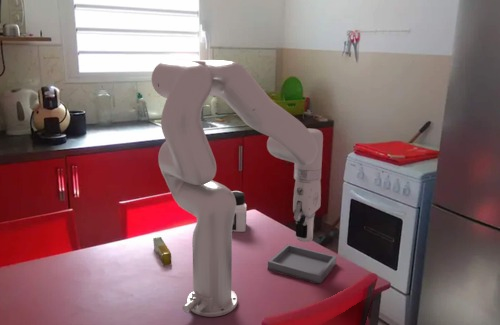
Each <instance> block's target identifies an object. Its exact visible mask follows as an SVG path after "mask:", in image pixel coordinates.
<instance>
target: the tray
mask: <svg viewBox="0 0 500 325" xmlns="http://www.w3.org/2000/svg"><path fill="white" fill-rule="evenodd" d="M337 258H338V257H337V256H336V255H332V254H328V253H324V252H321V251H317V250H316V251H315V250H312V249H309V248H304V247H301V246H297V245H292V244H286V245H284V247H283V248H282V249H281V250H279V251H278V252H277V253H276V254H275V255H274V256H273V257H272V258H270V259H269V260H268V261H267V270H268V271H273V272H276V273H279V274H283V275H286V276H289V277H294V278H296V279H300V280H304V281H307V282H310V283H314V284H318V285H320V284H322V282H323V281H324V280H325V278H326V277H327V276H328V275H329V274H330V273H331V271H332V270H333V269H334V267H335V266H336V265H337Z"/></svg>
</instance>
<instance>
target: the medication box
mask: <svg viewBox="0 0 500 325" xmlns="http://www.w3.org/2000/svg"><path fill="white" fill-rule="evenodd" d="M152 241H153V249H154V251H155V254H156V255H157V256H158V258H159V260H160V262H161V264H162V265H163V266H168V265H172V252H171V251H170V249H169V248H168V246H167V245H166V243H165V242H164V240H163V238H162V236H158V237H154V238H153V239H152Z"/></svg>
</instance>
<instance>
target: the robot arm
mask: <svg viewBox="0 0 500 325" xmlns="http://www.w3.org/2000/svg"><path fill="white" fill-rule="evenodd" d="M151 83H152V84H151V85H152V87H153V89H154V91H155V92H156V93H157V94H158V95H159V96H161V97H163V98H166V100H165V103H164V106H163V109H162V112H161V118H160V119H161V120H160V121H161V122H160V124H161V126H160V127H161V130H162V134H163V136H164V139H165V141H164V142H163V143H162V144H161V146H160V149H159V152H158V154H157V155H158V166H159V168H160V172H161V174H162V176H163V178H164V180H165V182H166V185H167V187H168V189H169V191H170V193H171V195H172V198H173V200H174V201H175V203H177V205H178V207H180V208H181V209H183V210H184V211H186V212H188V213H189V214H191V215H192V216H194V217H196V224H195V227H194V230H193V233H192V240H191V241H192V286H193V287H192V289H193V291H192V292H191V293H189V294H188V296H187V300H186V303H185V304H183V306H182V310H183V312H184V313H186V314H188V313H189V312H192V313H194V314H196V315H198V316H202V317H209V318H213V317H221V316H224V315H227V314H229V313H230V312H232V311H233V310H235V309H236V307H237V305H238V300H239V299H238V296H237V294H236V293H235V291H233V290H232V276H233V275H232V272H233V271H232V269H233V268H232V267H233V265H232V263H233V262H232V261H233V258H232V257H233V254H232V252H233V246H232V245H233V244H232V243H233V242H232V241H233V231H232V227H233V220H234V216H235V211H236V199H235V196H234V194H233V193H232V192H231V191H232V190H231V189H230V188H228V187H227V186H226V185H224V184H222V183H219V182H217V181H215V180H213V179H214V178H215V177H216V174H217V163H216V161H217V160H216V159H215V156H214V154H213V151H212V148H211V146H210V142H209V141H208V138H207V135H206V133H205V131H204V126H203V123H202V119H201V118H202V111H203V109H204V105H205V103H206V101H207V99H208V97H209V96H212V97H218V98H221V99H222V100H223V101H224V102H225V103H226V104H227V105H228V106H229V107H230V109H232V110H233V111H234V113H235V114H236V115H237V117H239V119H240V120H241V121H243V123H245V124H246V125H247V126H248V127H250V128H251V129H253V130H255V131H257V132H259V133H260V134H263V135H265V136H268V139H267V141H266V148H267V151H268V152H269V154H270V155H271V156H273V157H275V158H277V159H280V160H284V161H285V162H286V161H287V162H290V163H294V165H293V167H294V168H293V169H294V170H293V179H294V180H295V182H294V188H293V199H292V202H293V203H292V212H293V213H294V216H293V220H295V236H296V238H297V237H301V238H307V225H306V222H307V217H309V216H311V215H312V214H313V213H314V212H315V213H316V212H317V211H318V210H319V209H320V208H321V202H322V196H321V195H322V186H321V185H322V183H321V179H322V167H323V166H322V165H323V164H322V162H323V147H324V144H323V143H324V135H323V132H322V130H321V129H320V130H319V129H317V128H307V127H306V126H305V125H304V124H303V122H301V121H300V120H299V119H298V118H296V117H295V116H293V114H291V113H290V112H288V111H287V110H286V109H285V108H283V107H282V106H280V105H279V104H277V103H276V102H275V101H273V99H271V97H270V96H269V95H268V94H267V92H266V91H264V89H263V88H262V87H261V85H259V83H258V82H257V81H256V79H255V78H254V77H253V76H252V75H251V73H250V72H249V71H248V69H247V68H245V67H244V66H243V65H242V64H240V63H239V62H237V61H232V60H231V61H230V60H219V59H217V60H216V59H210V60H209V59H208V60H206V59H205V60H204V59H203V60H182V59H181V60H177V59H175V60H173V59H170V60H168V59H167V60H164V61H162V62H160V63H158V64H157V65H156V66H155V67H154V69H153V71H152V74H151ZM301 212H303V213H304V214H302V213H301ZM300 216H303V217H304V220H303V218H301V217H300ZM315 217H316V215H315V216H314V219H315ZM314 231H315V222H314V223H313V232H314Z"/></svg>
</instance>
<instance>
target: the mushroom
mask: <svg viewBox="0 0 500 325" xmlns="http://www.w3.org/2000/svg"><path fill="white" fill-rule="evenodd" d="M301 213H302V214H304V213H303V212H301ZM314 216H315V217H316V212H314V213H313V214H312V215H311V216H309V217H307V222H306V225H307V238H301V237H297V236H296V239H297V240H298V241H299V242H300V241H301V242H303V243H305V242H310V241H313V239H314V238H313V237H314V231H313V223H314V224H315V218H314ZM300 217H301V218H303V220H304V217H303V216H300Z"/></svg>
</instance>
